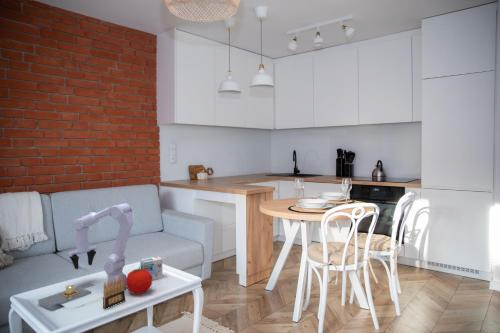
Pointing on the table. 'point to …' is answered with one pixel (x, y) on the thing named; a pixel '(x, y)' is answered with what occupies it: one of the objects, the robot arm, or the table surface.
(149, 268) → the light bulb box
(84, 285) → the gray square block
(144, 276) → the tomato
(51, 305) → the plate
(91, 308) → the table surface
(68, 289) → the brass peg
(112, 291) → the ammunition clip
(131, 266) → the table surface
